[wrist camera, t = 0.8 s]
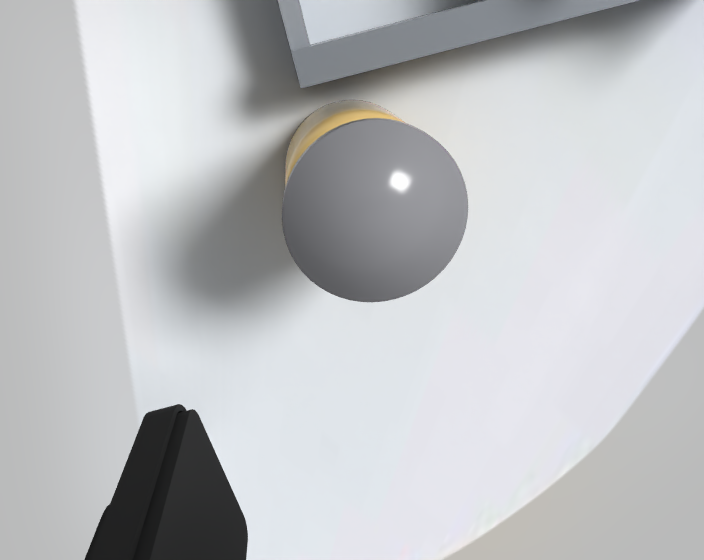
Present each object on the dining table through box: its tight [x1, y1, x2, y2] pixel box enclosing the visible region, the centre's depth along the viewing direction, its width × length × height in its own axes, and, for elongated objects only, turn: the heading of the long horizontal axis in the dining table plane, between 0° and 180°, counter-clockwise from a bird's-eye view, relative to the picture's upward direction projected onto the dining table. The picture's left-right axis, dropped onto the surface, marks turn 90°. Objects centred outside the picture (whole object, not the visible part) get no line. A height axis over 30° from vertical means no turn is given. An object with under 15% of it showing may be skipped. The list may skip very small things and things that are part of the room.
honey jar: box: [282, 100, 468, 302], centre depth 23 cm, size 7×7×8 cm
